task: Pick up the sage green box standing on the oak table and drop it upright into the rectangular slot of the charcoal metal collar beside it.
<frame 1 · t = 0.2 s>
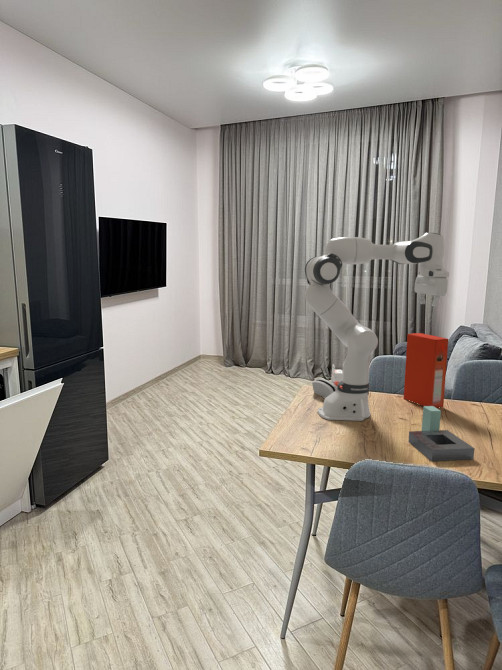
hand: (428, 305, 199), 48 cm above the table, fingers open, 8 cm apart
collar block: (439, 450, 166), on the table
ink cartridge box: (336, 394, 233), on the table
grey napkin holder: (325, 398, 227), on the table
sage green box: (430, 433, 182), on the table
file binder: (422, 403, 220), on the table
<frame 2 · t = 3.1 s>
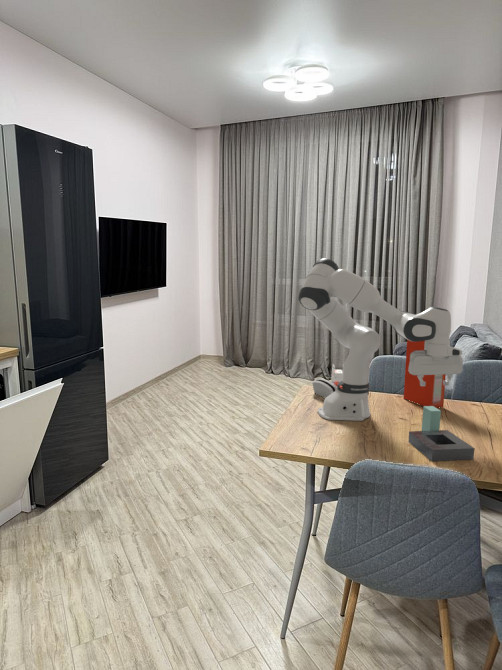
hand: (434, 385, 179), 19 cm above the table, fingers open, 8 cm apart
nothing on the table moved.
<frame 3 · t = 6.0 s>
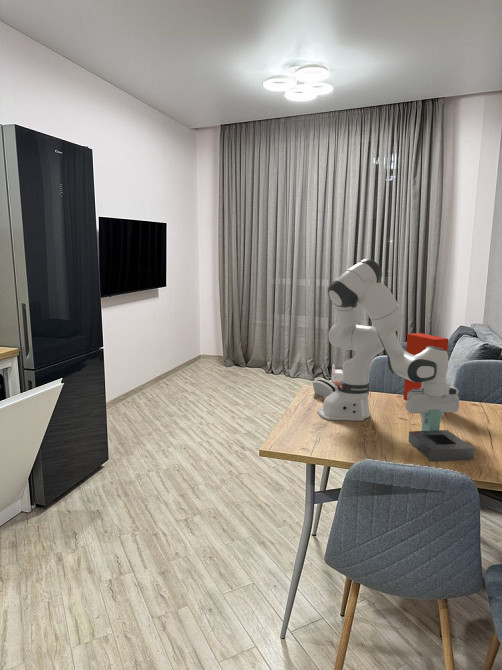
hand: (430, 423, 181), 4 cm above the table, fingers closed on sage green box, 4 cm apart
sage green box: (430, 433, 182), on the table, touching gripper
everything else where it was.
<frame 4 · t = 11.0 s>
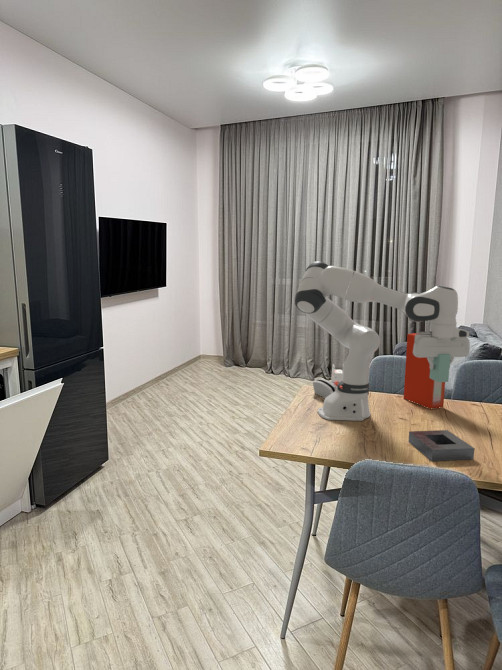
hand: (439, 368, 171), 27 cm above the table, fingers closed on sage green box, 4 cm apart
sage green box: (438, 379, 171), point 23 cm above the table, touching gripper
everything else where it was.
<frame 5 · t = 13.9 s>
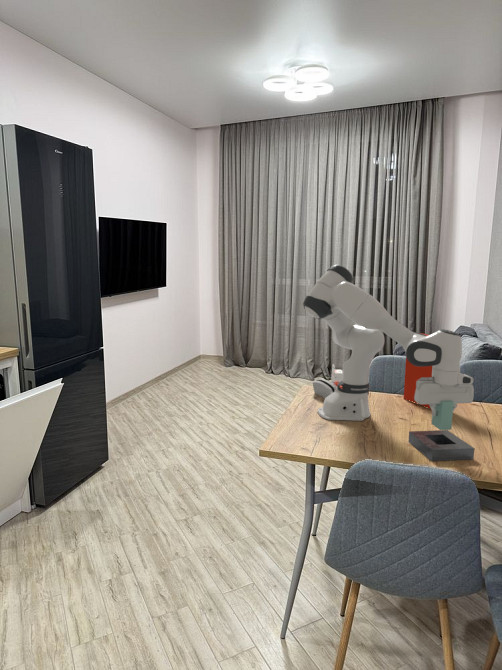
hand: (442, 415, 164), 13 cm above the table, fingers closed on sage green box, 4 cm apart
sage green box: (441, 426, 164), point 9 cm above the table, touching gripper
everything else where it was.
when the fingers open (6 cm above the table, at t = 16.5 s): sage green box drops 1 cm, resting in collar block.
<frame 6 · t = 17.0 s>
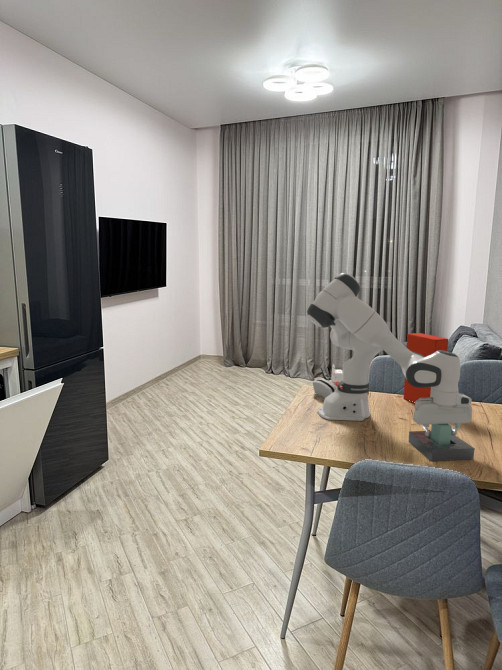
hand: (440, 435, 165), 6 cm above the table, fingers open, 8 cm apart
sage green box: (439, 450, 166), resting in collar block
everything else where it was.
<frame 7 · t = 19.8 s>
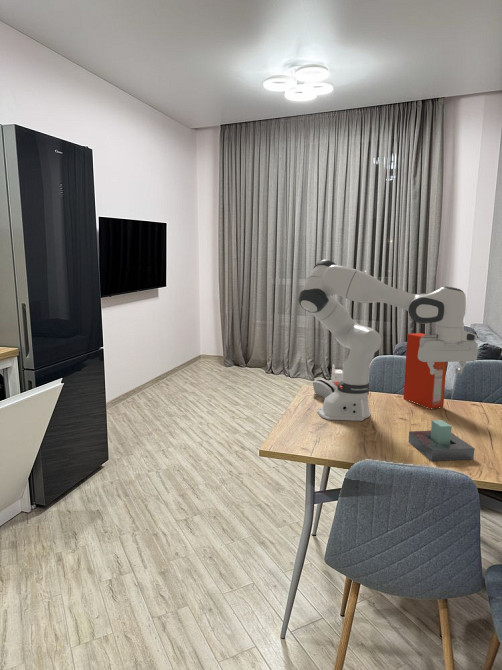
hand: (445, 373, 162), 27 cm above the table, fingers open, 8 cm apart
nothing on the table moved.
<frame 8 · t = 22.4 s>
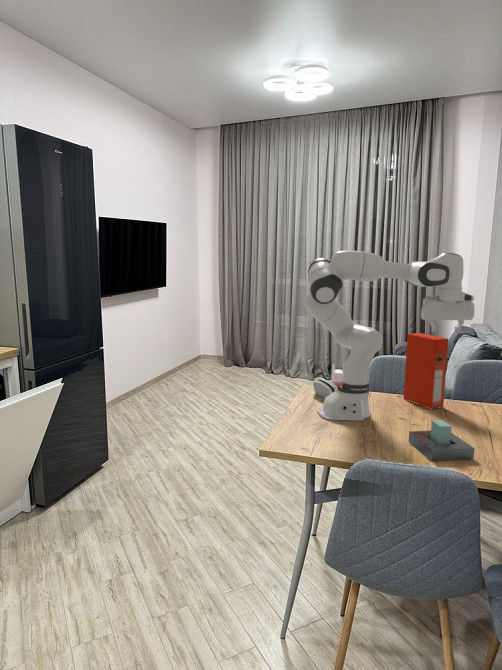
hand: (445, 331, 181), 39 cm above the table, fingers open, 8 cm apart
nothing on the table moved.
at the end: sage green box 0.1 cm off-centre on the collar block, point 0.0 cm above the collar block's base; sage green box tilted 0°; the gripper is holding nothing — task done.
